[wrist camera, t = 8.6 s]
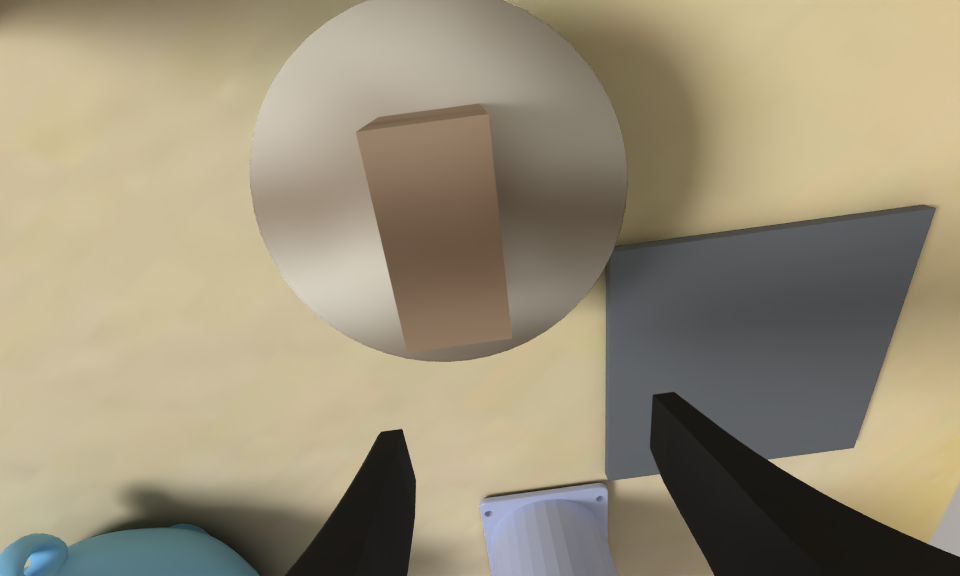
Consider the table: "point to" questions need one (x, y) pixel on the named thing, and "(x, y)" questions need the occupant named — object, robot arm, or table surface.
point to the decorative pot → (126, 555)
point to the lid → (438, 176)
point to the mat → (757, 330)
